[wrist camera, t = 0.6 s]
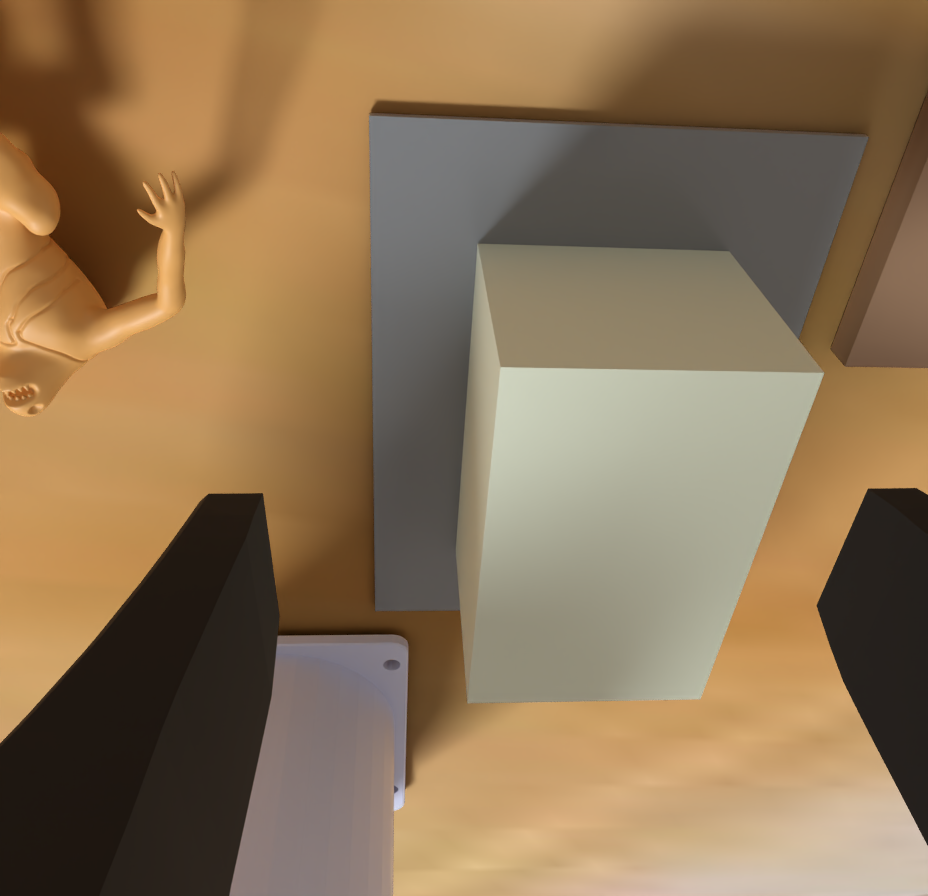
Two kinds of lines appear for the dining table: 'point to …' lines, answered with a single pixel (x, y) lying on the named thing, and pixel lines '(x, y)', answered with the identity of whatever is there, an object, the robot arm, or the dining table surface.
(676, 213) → the grey tile
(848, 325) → the walnut pad
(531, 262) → the sage block
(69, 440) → the dining table surface
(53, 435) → the dining table surface
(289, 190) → the dining table surface
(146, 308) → the figurine
